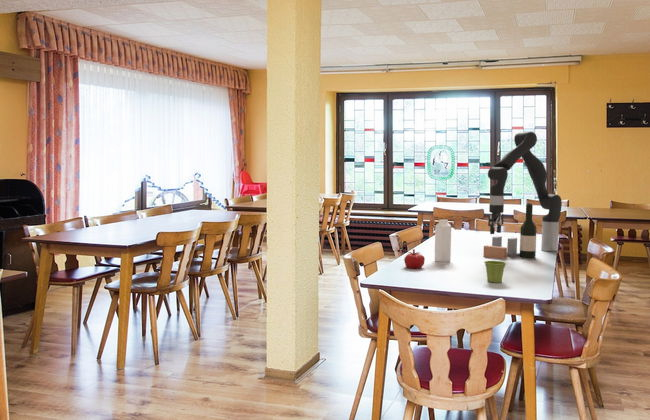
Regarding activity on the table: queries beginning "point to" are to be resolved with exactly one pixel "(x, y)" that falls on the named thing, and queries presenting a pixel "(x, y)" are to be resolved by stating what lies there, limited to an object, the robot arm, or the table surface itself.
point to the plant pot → (494, 270)
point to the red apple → (414, 260)
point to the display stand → (510, 247)
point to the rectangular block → (495, 252)
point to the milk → (443, 241)
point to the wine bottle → (528, 235)
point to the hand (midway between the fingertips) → (495, 233)
